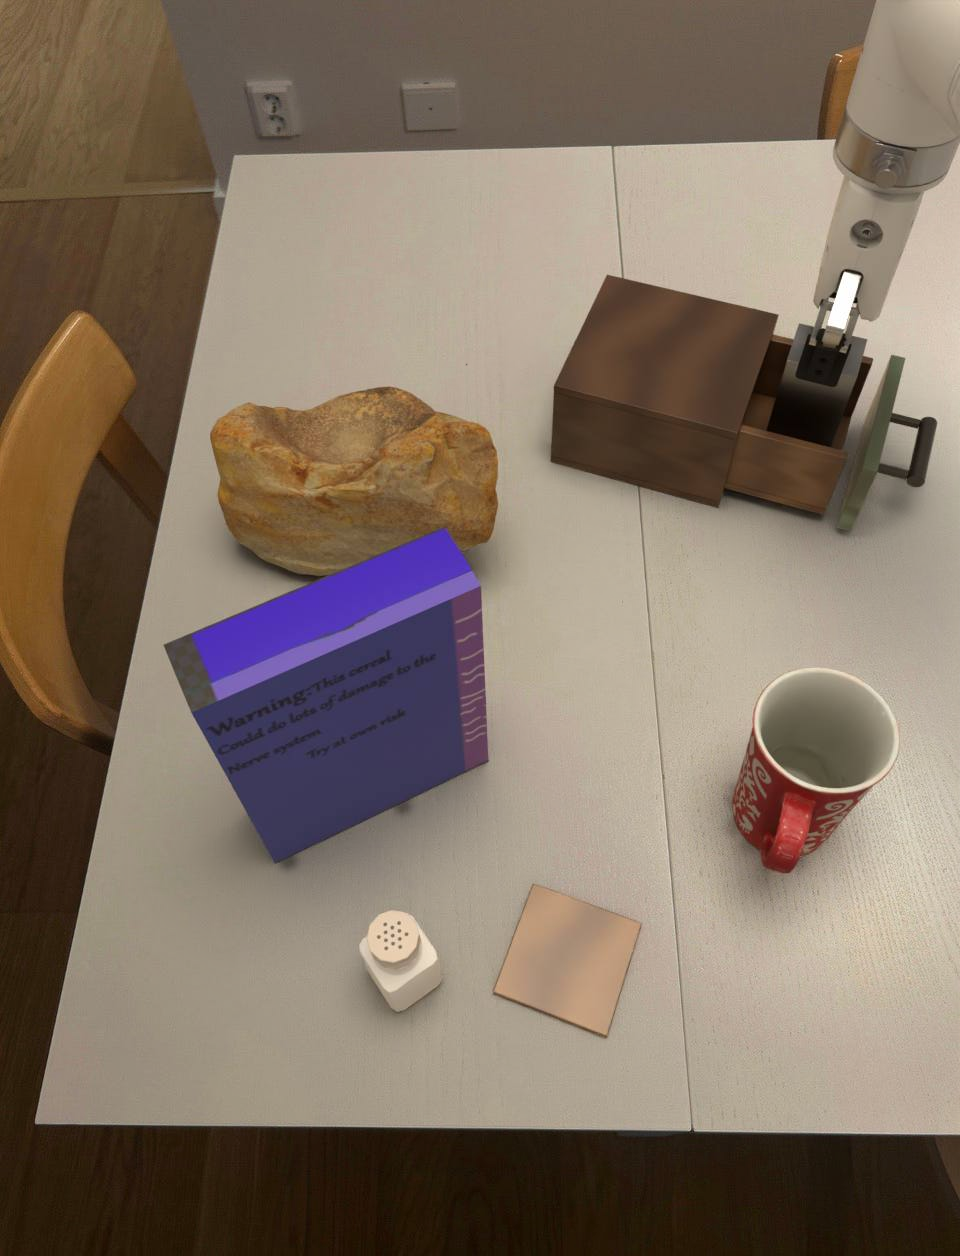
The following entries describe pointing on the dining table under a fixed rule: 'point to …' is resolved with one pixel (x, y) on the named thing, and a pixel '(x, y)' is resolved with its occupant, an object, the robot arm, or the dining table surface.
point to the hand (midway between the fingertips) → (828, 337)
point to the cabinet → (659, 388)
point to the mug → (810, 761)
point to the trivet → (568, 959)
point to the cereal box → (344, 692)
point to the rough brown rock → (352, 478)
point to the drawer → (815, 469)
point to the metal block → (813, 396)
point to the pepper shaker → (400, 959)
